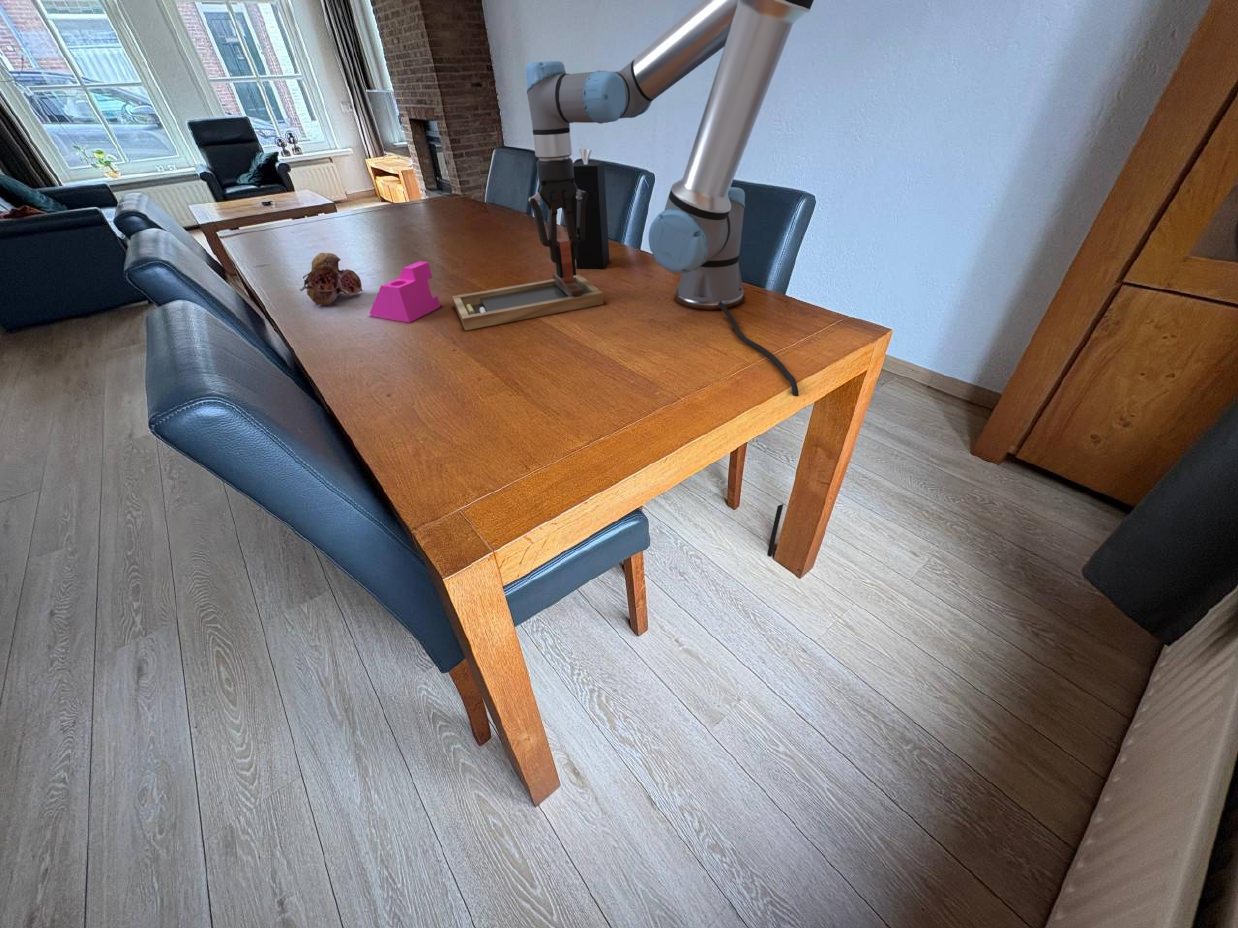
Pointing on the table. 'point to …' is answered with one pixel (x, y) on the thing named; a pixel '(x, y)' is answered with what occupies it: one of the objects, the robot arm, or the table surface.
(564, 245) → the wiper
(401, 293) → the bracket
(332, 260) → the seed pod
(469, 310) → the yellow chalk
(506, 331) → the table surface
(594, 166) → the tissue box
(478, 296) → the slate
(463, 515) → the table surface
